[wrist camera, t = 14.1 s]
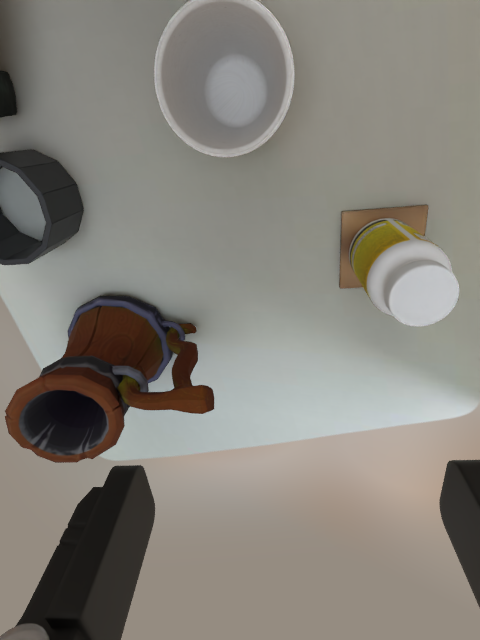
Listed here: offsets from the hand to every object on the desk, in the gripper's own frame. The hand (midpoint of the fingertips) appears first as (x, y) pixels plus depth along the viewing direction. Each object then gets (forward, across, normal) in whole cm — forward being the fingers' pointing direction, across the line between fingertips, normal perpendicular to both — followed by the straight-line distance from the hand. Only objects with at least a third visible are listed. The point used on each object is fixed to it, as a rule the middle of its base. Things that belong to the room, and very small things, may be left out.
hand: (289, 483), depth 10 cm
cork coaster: (+29, -10, +3) cm, 31 cm away
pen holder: (+29, +22, -4) cm, 37 cm away
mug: (+29, +14, +11) cm, 34 cm away
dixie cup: (+29, +2, -11) cm, 31 cm away
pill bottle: (+29, -10, +3) cm, 30 cm away
